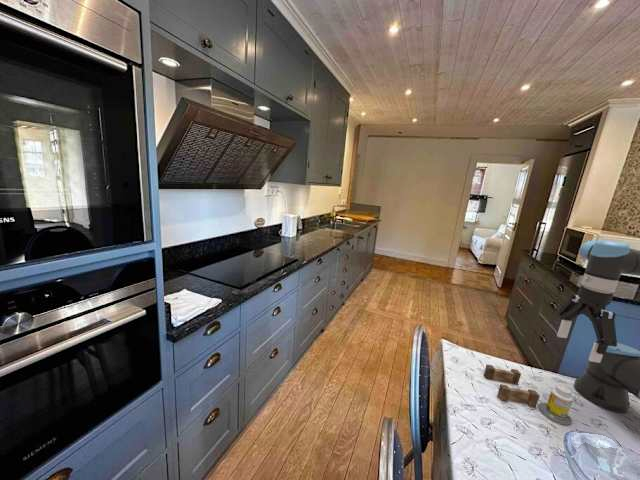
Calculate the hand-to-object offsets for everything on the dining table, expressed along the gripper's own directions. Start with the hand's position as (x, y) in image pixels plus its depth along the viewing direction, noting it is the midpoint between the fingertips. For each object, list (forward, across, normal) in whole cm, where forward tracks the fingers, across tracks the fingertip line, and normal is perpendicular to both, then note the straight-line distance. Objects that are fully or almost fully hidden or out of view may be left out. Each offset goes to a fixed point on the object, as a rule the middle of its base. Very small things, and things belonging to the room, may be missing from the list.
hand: (576, 348), depth 88 cm
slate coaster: (+26, 0, 0) cm, 27 cm away
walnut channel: (+26, -8, -11) cm, 30 cm away
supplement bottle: (+26, 0, 0) cm, 26 cm away
